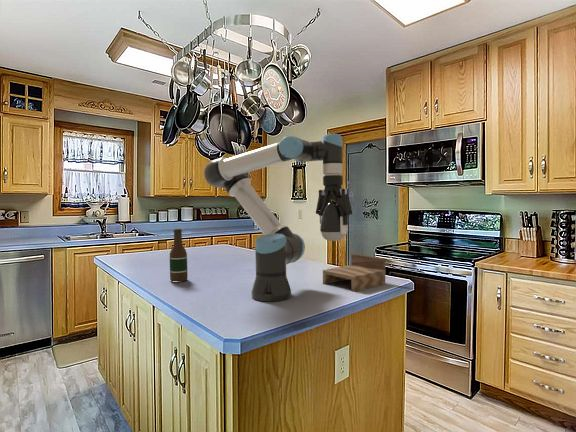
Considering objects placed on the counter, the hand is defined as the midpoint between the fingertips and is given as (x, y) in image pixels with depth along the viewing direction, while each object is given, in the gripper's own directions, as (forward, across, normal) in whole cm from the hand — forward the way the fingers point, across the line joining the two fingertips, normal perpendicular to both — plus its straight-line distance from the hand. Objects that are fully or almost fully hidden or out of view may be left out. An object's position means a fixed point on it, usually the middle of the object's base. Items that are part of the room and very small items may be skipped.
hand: (333, 232), depth 138 cm
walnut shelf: (+24, +6, -18) cm, 31 cm away
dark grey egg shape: (+3, 0, 0) cm, 3 cm away
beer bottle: (+24, +62, +39) cm, 77 cm away
